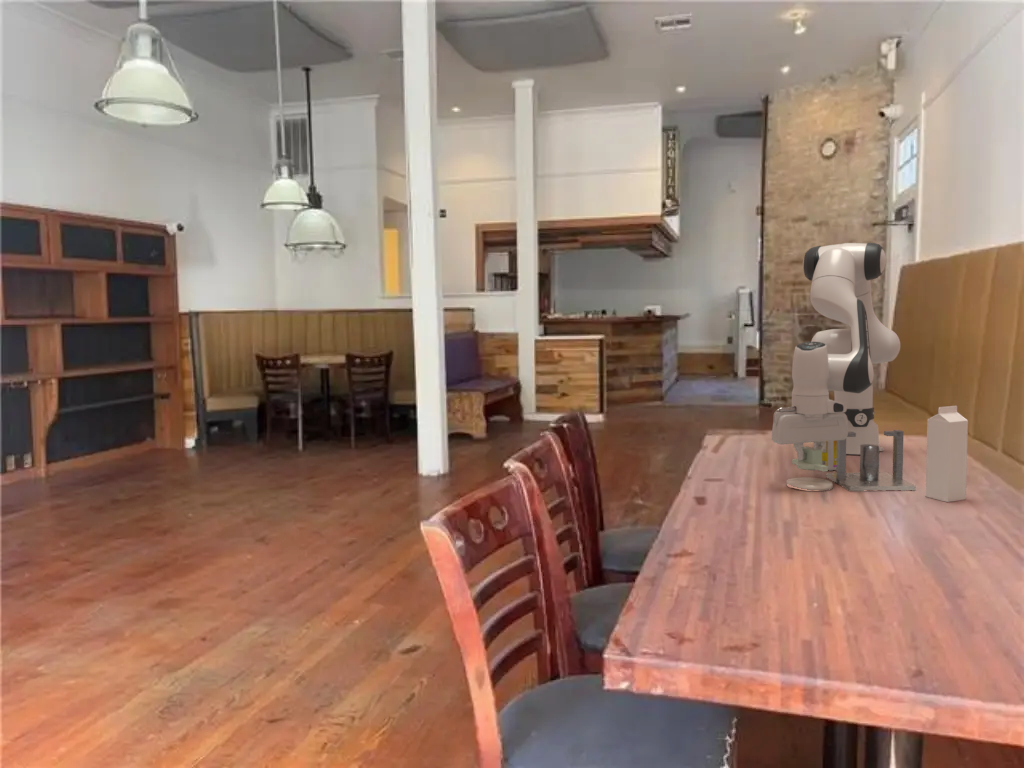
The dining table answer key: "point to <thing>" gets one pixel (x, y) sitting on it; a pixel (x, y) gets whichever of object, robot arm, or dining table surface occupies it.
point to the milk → (946, 455)
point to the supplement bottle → (829, 455)
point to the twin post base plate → (871, 467)
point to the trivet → (810, 483)
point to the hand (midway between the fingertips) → (809, 459)
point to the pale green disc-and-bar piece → (811, 460)
